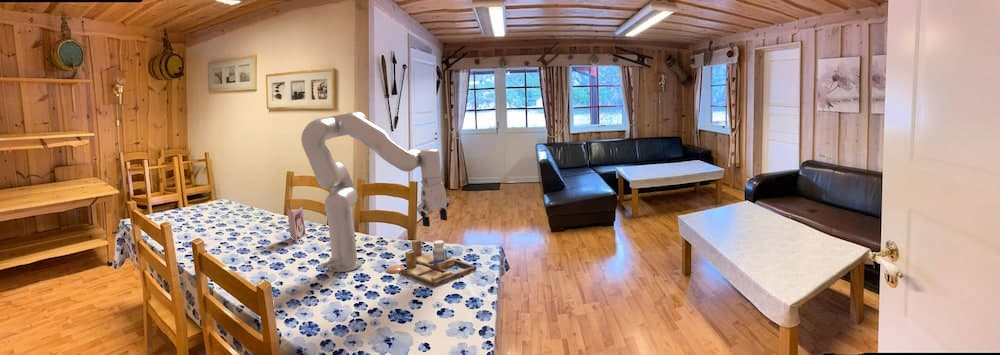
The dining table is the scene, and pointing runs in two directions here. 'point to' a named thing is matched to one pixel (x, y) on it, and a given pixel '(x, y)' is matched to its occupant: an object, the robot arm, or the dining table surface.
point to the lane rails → (440, 274)
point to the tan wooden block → (412, 264)
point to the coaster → (395, 269)
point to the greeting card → (296, 224)
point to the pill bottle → (439, 252)
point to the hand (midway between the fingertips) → (435, 223)
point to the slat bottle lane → (429, 256)
